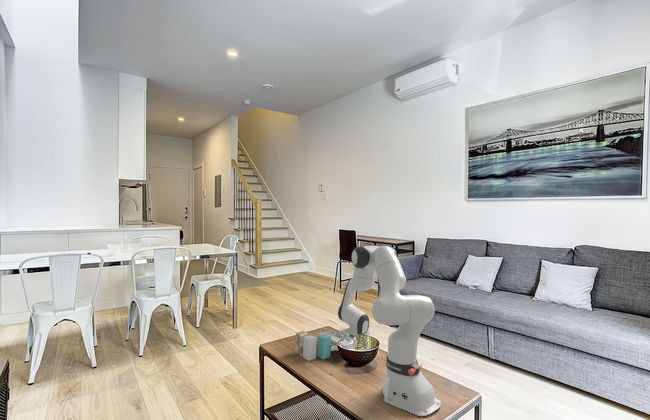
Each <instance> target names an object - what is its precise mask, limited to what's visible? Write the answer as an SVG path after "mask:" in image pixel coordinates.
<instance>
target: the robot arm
mask: <svg viewBox="0 0 650 420" xmlns="http://www.w3.org/2000/svg"><path fill="white" fill-rule="evenodd" d="M351 263H352V264H353V266H354V269H353V276H352V277H351V278H349V280H348V281H347V283H346V286H345V288H344V293H343V296H342V299H341V303H340V305H339V307H338V310H337V316H338V319H339V321H342V322H344V323H346V325H348V328H343V329H341V330H338V331H337V332H336V333H335V332H334V331H333V332H332V331H330V330H329V331H324V332H320V333H319V334H318V336H319V335H322V334H327V335H329V336H331V346H330V347H329V348H330V349H329V350H331V351H330V352H333V351H339V350H338V348H337V343H338V341H339V340H340V339H345V340H346V341H341V342H340V343H341V345H342V346H343V347H345V348H348V349H353V346H354V347H355V346H356V347H357V345H358V344H357V340H356V337H355V336H354V334H359V335H368V336H369V337H370V334H371V332H370V317H369V315H368V314H367V313H365V312H363V311H362V310H361V309H359V308H357V307H356V306H355V305H354V303H353V301H354V298H355V295H356V292H367V291H369V290H370V289H372V288H373V286H374V285H375V281H376V276H377V279H378V282H379V286H380V287H379V289H380V291H379V295H378V296H377V298H376V299H375V300H374V301H373V303H372V305H371V313H372V317H373V319H374V320H375V322H376V323H377V324H379V325H383V326H398V327H397V329H395V330H394V331H393V332H392V333H391V334H389V336H388V339H387V355H386V361H385V364H386V365H385V366H386V373H385V380H384V382H383V383H384V384H383V386H382V390H381V392H382V395H383V401H384V403H386V404H388V405H391V406H393V407H394V408H395V407H396V408H398V409H400V410H402V409H403V411H405V410H406V411H405V412H407V411H408V413H409V412H410V414H412V413H413V414H412V415H414V414H415V416H416V415H417V416H416V417H419V416H426V415H429V414H431V413H433V412H434V411H436V410H437V409H438V408H439V407H440V405H441V406H442V401H441V400H440V399H438V398H437V397H436V395H435V389H434V387H433V385H432V384H431V383H430V382H429V381H428V379H427V378H426V377H425V376H424V375H423V373H422V372H421V368H423V367H422V366H423V364H420V365H419V362H418V359H417V350H418V342H419V339H420V336H421V334H422V331H423V329H424V327H425V326H426V325H427V324H428V323H429V322H430V321H432V320H433V318H434V317H435V316H434V315H435V311H436V310H435V305H434V302H433V301H432V299H431V298H430V297H428V296H425V295H420V294H406V295H405V294H403V295H401V293H400V291H401V290H402V289H403V288H405V286H406V284H407V283H406V282H407V278H406V275H405V273H404V270H403V267H402V265H401V262H400V260H399V258H398V254H397V251H396V249H395V248H393V247H392V246H387V245H364V246H363V245H359V246H356V247H354V248H353V250H352V252H351ZM317 345H318V339H317ZM437 404H439V405H437ZM440 408H441V407H440Z"/></svg>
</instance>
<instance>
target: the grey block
mask: <svg viewBox="0 0 650 420" xmlns="http://www.w3.org/2000/svg"><path fill="white" fill-rule="evenodd" d="M317 340H318V337H316V336H314V335H312V334H309V336H305V337H304V340H303V356H302V358H303V359H304V360H306V361H307V362H310V361H313V360H315V359H317V347H318V344H317Z"/></svg>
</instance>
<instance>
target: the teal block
mask: <svg viewBox="0 0 650 420" xmlns="http://www.w3.org/2000/svg"><path fill="white" fill-rule="evenodd" d="M317 340H318V344H317V349H316V357H318V358H320V359H322V360H326V359H329V358H331V352H332V351H331V350H329V349H330V348H329V347H330V346H331V336H329V335H327V334H322V335H319V334H318V336H317Z"/></svg>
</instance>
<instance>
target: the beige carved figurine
mask: <svg viewBox="0 0 650 420" xmlns="http://www.w3.org/2000/svg"><path fill="white" fill-rule="evenodd" d="M309 335H310V333H309V332H306V331H299V332H296V333H295V355H298V356H300V357H303V340H304V337H305V336H309Z"/></svg>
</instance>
